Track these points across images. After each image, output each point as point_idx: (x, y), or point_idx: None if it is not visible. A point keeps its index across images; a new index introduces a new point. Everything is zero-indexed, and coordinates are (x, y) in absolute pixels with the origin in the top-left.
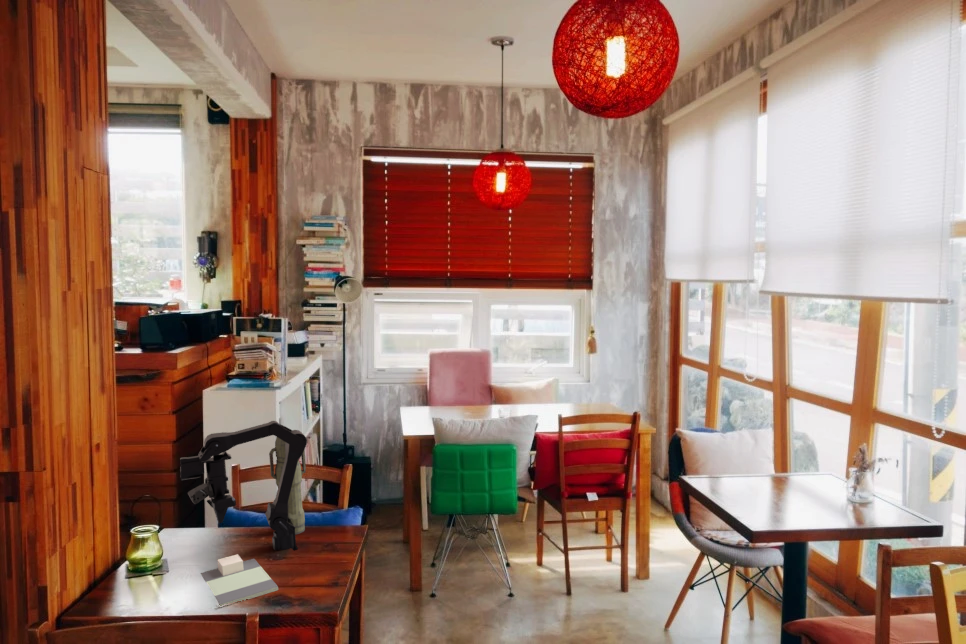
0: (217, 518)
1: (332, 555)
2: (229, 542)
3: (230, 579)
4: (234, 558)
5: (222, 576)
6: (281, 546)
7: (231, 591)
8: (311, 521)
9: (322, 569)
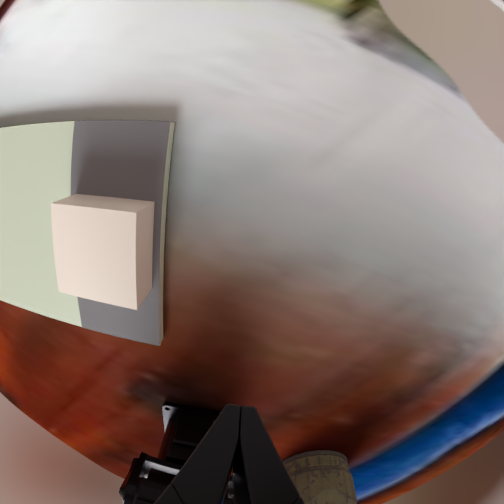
0: (214, 441)
1: (88, 440)
2: (419, 341)
3: (39, 206)
4: (98, 279)
5: (73, 190)
6: (171, 427)
7: None
8: None
9: (30, 393)
